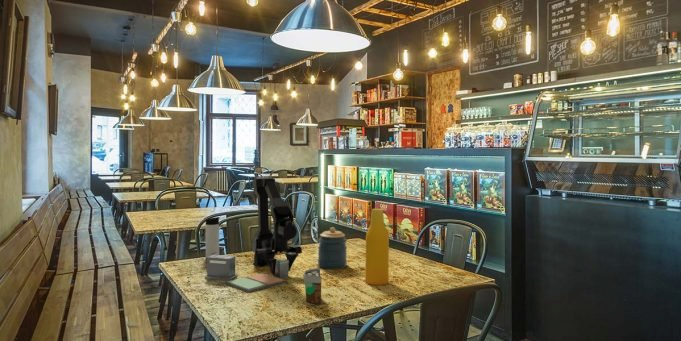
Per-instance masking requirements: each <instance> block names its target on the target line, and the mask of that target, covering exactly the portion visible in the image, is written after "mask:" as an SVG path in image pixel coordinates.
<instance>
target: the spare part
mask: <svg viewBox="0 0 681 341" xmlns="http://www.w3.org/2000/svg"><path fill="white" fill-rule="evenodd" d="M276 259H277V260H276V267H275V273H274V275H272V276H273V277H277V278H280V279H285V278H289V272H290V271H289V260H287V258H283V257H281V258H276Z"/></svg>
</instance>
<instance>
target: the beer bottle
mask: <svg viewBox="0 0 681 341" xmlns="http://www.w3.org/2000/svg"><path fill="white" fill-rule="evenodd" d="M389 244H390V237H389V232H388V230H387V228H386V225H385V216H384V209H383V208H372V210H371V217H370V223H369V227H368V229H367V231H366V234H365V267H364V268H365V271H364V273H365V274H364V275H365V276H364V279H365V282H366V284H368V285H370V286H371V285H372V286H384V285H387V284H388V283H389V278H390V277H389V267H390V266H389V260H390V259H389V258H390V257H389V256H390V255H389V253H390V252H389V251H390V249H389V248H390V245H389Z"/></svg>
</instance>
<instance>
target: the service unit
mask: <svg viewBox="0 0 681 341" xmlns="http://www.w3.org/2000/svg"><path fill="white" fill-rule="evenodd" d="M238 275H239V274H238V273H236V256H235V255H226V254H225V255H221V254H219V255H211V256H209V257H207V259H206V275H205V276H204V279H205V280H206V279H207V280H216V281H217V280H218V281H231V280H234V279H236V278H237V277H239V276H238Z"/></svg>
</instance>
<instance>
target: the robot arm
mask: <svg viewBox="0 0 681 341" xmlns="http://www.w3.org/2000/svg"><path fill="white" fill-rule="evenodd" d="M251 183H252V188H253V192H254V194H255V195H256V197H257V225H258V226H257V227H258V229H257V230H256V232H255V235H254V240H253V242H252V245H251V251H252V252H253V253H254V255H253V262H252V265H255V266H258V267H265V266H268V267H269V270H270V274H271V276H273V275H274V273H275V267H276V260H277V259H278V258H275V257H276V256H279V255H285V257H286V258H285V259H287V260H289V271H288V272H290V271H291V268H292V267H293V264H294V262H295V261H296V259H297V257H299V254H302V253H303V248H302V246H301V245H295V244H291V245H288V244H289V241H291V240H293V239H294V238H296V236H297V234H298V231H297V228H296V226H295V225H293V222H294V221H295V220H294V217H295V216H294V215H293V211H292V208H291V207H290V205H289V204H288V202H287V201H286V200H284V199H283V198H282V196H281V194H280V191H279V188H278V187H277V183H276V179H275V178H274V177H266V176H265V177H263V176H262V177H257V176H256V177H255V178H254V179H253V180H252V182H251ZM269 202H270V204H271V206H270V207H271V208H270V215H271V219H272V223H273V232H272V231H271V230H270V225H269V224H270V222H269V220H270V219H269Z"/></svg>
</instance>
